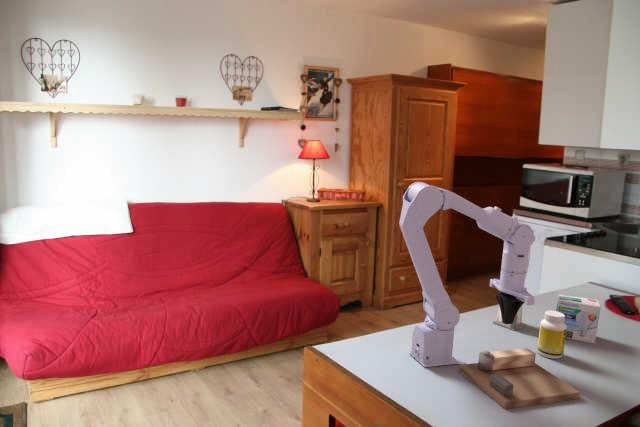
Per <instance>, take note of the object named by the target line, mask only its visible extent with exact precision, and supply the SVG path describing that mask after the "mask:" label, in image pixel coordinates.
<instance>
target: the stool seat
mask: <svg viewBox="0 0 640 427" xmlns="http://www.w3.org/2000/svg"><path fill="white" fill-rule="evenodd" d="M458 371H459V372H460V373H461V374H462V375H463V376H464V377H466V378H467V379H468V380H469V381H470V382H472V383H473V384H474V385H475V386H476V387H478V388H479V389H480V390H481V391H482V392H484V394H486V395H487V396H488V397H490V398H491V399H492V400H493V401H494V402H495V403H497V404H498V405H499V406H500V407H501V408H502V409H503V410H508V409H515V408H516V409H517V408H522V407H523V408H524V407H529V406H537V405H543V404H551V403H559V402H564V401H573V400H579V399H580V393H581V392H580V391H579V390H577V389H575V387H572V385H570V384H569V383H566V382H565V381H564V380H563V379H560V378H559V377H558V376H556V375H554V373H553V374H552V373H551V372H550V371H549V370H547V369H545V368H543V367H542V366H540V364H537V362H535V365H533V366H524V367H516V368H507V369H498V370H492V371H485V370H481V369H480V368H479V367H478V362H476V363H464V364H459V369H458Z"/></svg>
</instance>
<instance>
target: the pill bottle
mask: <svg viewBox="0 0 640 427" xmlns="http://www.w3.org/2000/svg"><path fill="white" fill-rule="evenodd" d="M564 320H565V315H564V314H563V313H560V312H557V311H556V310H546V311H544V318H543V319H541V321H540V324H539V331H538V332H539V333H538V340H537V351H536V352H537V353H538V354H539V355H540V356H542V357H545V358H549V359H555V360H556V359H561V358H562V357H563V356H564V352H565V344H566V343H565V342H566V338H565V337H566V329H567V327H566V324H565V323H564V322H563V321H564Z"/></svg>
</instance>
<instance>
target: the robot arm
mask: <svg viewBox="0 0 640 427" xmlns="http://www.w3.org/2000/svg"><path fill="white" fill-rule="evenodd" d="M450 209H452V210H454V211H456V212H458V213H460V214H463V215H465V216H467V217H470V218H471V219H473V220H475V221H476V224H477V226H478V228H479V229H480V230H483V231H485V232H487V233H489V234H491V235H492V236H495V237H497V238H499V239H501V240H502V241H503V251H502V256H501V257H502V259H501V268H500V276H499V279H498V278H490V279H489V287H491V288H494V289H497V290H498V291H499V292H500V293H495V299H496V300H497V303H498V307H499V306H500V310H501V316H502V322H503V323H504V324H513V321H514V319H515V316H516V314H517V312H518V310H519V309H520V307H521V306H522V307H523V305H526V306H534V305H535V300H536V296H534V295H532V294H531V293H530V292H528V287H526V286H525V282H526V278H525V276H526V277H527V275H526V268H527V259H528V253H529V248H530V249H531V246H532V245H533V244H534V242H535V241H536V235H535V234H534V230H533V228H532V227H531V226H530V225H528V224H526V223H523V222H522V221H519V220H518V217H516V216H514V215H512V216H510V215H508V214H506V213H504V212H502V208H500V207H498V206H494V207H492V206H487V207H484V208H482V207H480V206H478V204H477V205H476V204H475V203H473V202H471V201H469V200H467V199H466V198H464V197H462V196H460V195H458V194H456V193H455V192H453V191H450V190H448V189H445V188H441V187H437V186H435V185H432V184H431V185H430V184H428V183H426V182H424V181H416V182H413V183H411V184H410V185H409V186H408V187H407V189H406V190H405V193H404V194H403V195H402V207H401V212H400V218H399V221H398V222H399V228H400V231H401V234H402V236H403V239H404V242H405V245H406V247H407V250H408V253H409V255H410V258H411V261H412V263H413V267H414V270H415V272H416V274H417V277H418V280H419V284H420V286H421V289H422V293H421V294H422V297H423V302H422V303H423V304H422V309H423V311H424V312H425V314H426V316H425V318H424V322H423V323H422V324H419V325H416V326H415V327H414V328H413V331H412V340H411V351H409V354H410V355H411V356H412V357H413V358H415V360H416V361H417V362H418V363H419V364H420V365H422V366H423V367H424V368H431V367H440V366H450V365H459V363H460V362H459V360H458V359H456V357H454V356H453V349H454V338H455V337H454V336H455V329H456V328H455V327H456V326H457V325H458V323H459V321H460V318H461V314H460V311H459V309H458V308H457V307H456V306H455V305H454V304H453V303H452V301H451V298H450V295H449V294H448V293H447V291H446V289H445V287H444V285H443V281H442V279H441V276H440V274H439V270H438V268H437V265H436V262H435V259H434V256H433V254H432V250H431V248H430V244H429V242H428V239H427V237H426V233H425V231H424V227H425V225H426V223H427V222H428V220H429V219H430V218H431V217H433V215H435V214H436V213H437V212H438V211H439V210H442V211H446V210H450ZM506 241H507V242H506Z"/></svg>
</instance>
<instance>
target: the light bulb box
mask: <svg viewBox="0 0 640 427" xmlns="http://www.w3.org/2000/svg"><path fill="white" fill-rule="evenodd" d="M601 308H602V307H601V305H600V302H599V300H598V299H594V298H593V299H592V298H587V297H581V296H573V295H568V294H567V295H566V294H560V293H559V294H558V296H557V303H556V308H555V311H557V312H560V313H563V314H564V315H565V320H564V321H563V322H564V323H565V324H566V327H567V329H566V337H565V339H569V340H573V341H580V342H583V343H584V342H585V343H590V344H596V340H597V339H596V338H597V332H598V326H599V320H600V314H601Z"/></svg>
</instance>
